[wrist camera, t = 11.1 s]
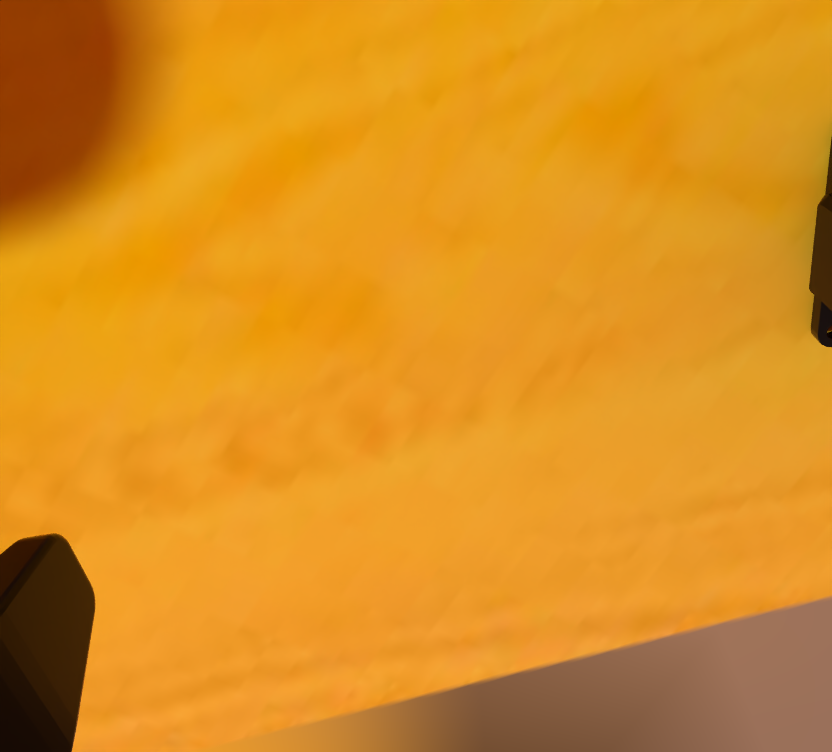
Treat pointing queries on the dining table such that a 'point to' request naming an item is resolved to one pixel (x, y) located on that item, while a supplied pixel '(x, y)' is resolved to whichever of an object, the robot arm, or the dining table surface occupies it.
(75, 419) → the dining table surface
